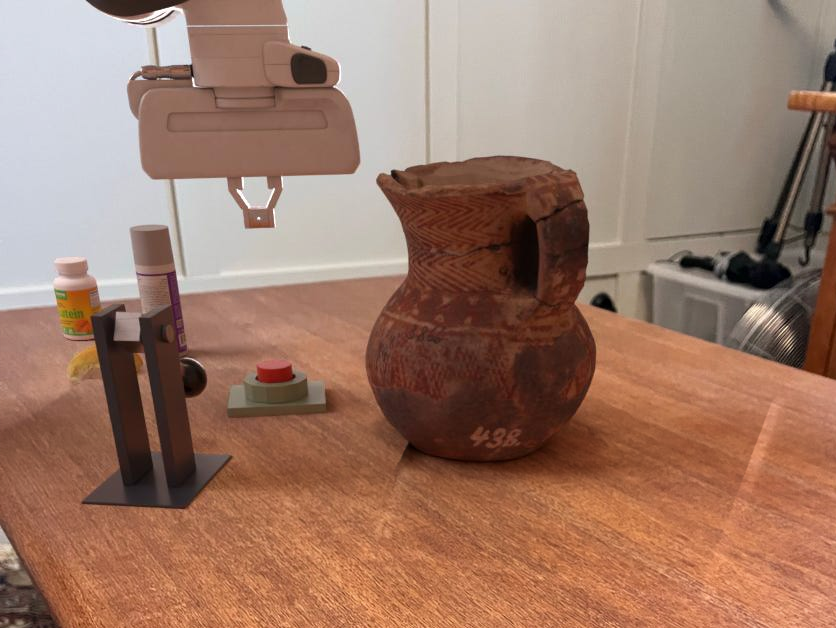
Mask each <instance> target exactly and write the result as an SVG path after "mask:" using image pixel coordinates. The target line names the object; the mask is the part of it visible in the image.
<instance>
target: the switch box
mask: <svg viewBox="0 0 836 628" xmlns="http://www.w3.org/2000/svg"><path fill="white" fill-rule="evenodd" d="M292 373H293V379H292V380H291V381H287V382H282V383H262V382H259V381H258V374H257V370H256V371H255V370H254V371H252V372H250V373H248V374H246V375H244V376H243V384H230V389H229V393H228V394H229V395H228V400H227V405H226V406H227V407H226V412H227V418H240V417H243V418H244V417H262V416H279V415H280V416H281V415H282V416H283V415H297V414H298V415H300V414H301V415H303V414H318V413H319V414H320V413H321V414H322V413H327V412H328V410H327V399H326V389H325V387H326V386H325V381H324V380H309V381H308V374H307V372H304V371H302V370H300V369H294V368H292Z"/></svg>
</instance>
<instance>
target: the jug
mask: <svg viewBox="0 0 836 628" xmlns="http://www.w3.org/2000/svg"><path fill="white" fill-rule="evenodd" d="M577 175H578V173H577V172H576V171H575V170H573V169H571V168H569V169H564V168H562V167H560V166H558V165H556V164H553V163H552V162H551V161H550V160H544V159H540V158H534V157H527V156H519V155H501V154H500V155H499V154H497V155H491V156H481V157H471V158H468V159H465V160H462V161H460V160H459V161H452V162H450V161H447V160H445V161H438V162H431V163H427V164H418V165H413V166H409V167H406V168H405V169H404V170H400V169H391V170H390V174H387V173H385V172H380V173H379V174H378V175H377V177H376V179H375V182H376V185H377V186H378V188H379V189H380V190H381V192H382V194H383V195H384V196H385V198H386V200H387V201H388V202H389V204H390V205H391V207H392V208H393V210H394V213H395V214H396V216H397V217H398V220H399V222H400V224H401V228H402V232H403V234H404V239H405V242H406V243H405V244H406V249H407V264H408V265H407V267H408V268H407V276H406V277H405V279H404V280H403V281H402V282H401V284H400V285H399V287H397V289H396V290H395V291H394V292H393V293H392V295H391V296H390V297H389V299H388V300H387V302H386V303H385V305H384V306H383V307H382V310H381V311H380V313H379V314H378V316H377V317H376V320H375V322H374V324H373V326H372V329H371V331H370V334H369V337H368V341H367V345H366V350H365V355H364V356H365V357H364V358H365V359H364V362H365V365H364V366H365V371H366V377H367V381H368V384H369V387H370V389H371V391H372V394H373V397H374V398H375V401H376V403H377V405H378V407H379V409H380V411H381V412H382V414H383V416H384V418H385V419H386V420H387V422H389V424H390V425H391V426H392V428H394V429H395V430H396V431H397V432H398V433H399V434H400V435H401V436H402V437H403V438H404V439H405V440H407V442H408V443H409V444H410V445H411V446H412V447H413V448H414V449H415V450H418V451H419V452H420V453H424V454H426V455H431V456H435V457H440V458H443V459H450V460H456V461H466V462H478V463H479V462H482V463H484V462H485V463H489V462H490V463H491V462H500V461H509V460H514V459H518V458H521V457H525V456H527V455H530V454H531V453H533V452H536V451H537V450H539V448H541V447H543V446H544V445H545V444H546V443H548V442H549V441H550V440H551V439H553V438H554V437H555V436H556V435H557V434H558V433H559V432H560V431H561V430H562V429H563V428H564V427H566V425H568V423H569V422H570V421H571V420H572V418H574V416H575V415H576V413H577V411H578V410H580V409H579V408H580V407H581V406H582V404H583V401H584V400H585V398H586V396H587V394H588V392H589V389H590V387H591V386H592V385H591V384H592V382H593V379H594V376H595V372H596V365H597V344H596V341H595V337H594V335H593V334H592V333H593V332H592V331H591V328H590V326H589V323H588V322H587V320H586V318H585V317H584V315H583V314H582V312H581V310H580V309H579V307H578V306H577V305H576V304H575V303H576V301H577V300H578V298H579V296H580V294H581V292H582V290H583V289H584V287H585V284H586V280H587V268H588V265H589V248H590V247H589V244H590V231H591V230H590V228H591V225H590V220H589V210H588V208H587V205H586V202H585V200H584V199H585V194H584V190H583V188H582V185H581V182H580V179H579V177H578V176H577Z"/></svg>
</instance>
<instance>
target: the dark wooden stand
mask: <svg viewBox="0 0 836 628" xmlns="http://www.w3.org/2000/svg"><path fill="white" fill-rule="evenodd" d="M126 310H127V309H126V304H125V303H112V304H110V305H108V306H106V307H104V308H103V309H102V310H101V311H99V312H97V313H95V314H93V315H92V316H90V318H91V324H92V329H93V334H94V339H93V340H94V343H95V344H94V345H96V349H97V354H98V359H99V364H100V369H101V375H102V379H101V380H102V385H103V389H104V395H105V400H106V404H107V405H106V406H107V410H108V415H109V420H110V426H111V430H112V435H113V440H114V446H115V451H116V457H117V461H118V466H119V467H118V469H117V470H115V472H112V474H111V475H110V476H109V477H107V478H106V479H105V480H104V481H102V483H101V484H99V486H97V487H96V488H95V489H94V490H93V491H91V492H90V493H89V494H88V495H87V496H86V497H85V498H84V499H82V501H81V505H91V506H92V505H93V506H97V505H98V506H111V507H112V506H113V507H129V508H130V507H134V508H152V509H170V510H171V509H172V510H174V509H175V510H186V509H187V508H188V506H190V504H191V503H192V502H193V501H194V500H195V499H196V498H197V497H198V496H199V494H200V493H201V492H202V491H203V490H204V489H205V488H206V487H207V486H208V485H209V484H210V483H211V481H213V479H214V478H215V477H216V476H217V475H218V474H219V472H220V471H221V470H223V469H224V467H225V466H226V465H227V464H228V463H229V462H230V460H231V459H232V458H233V455H232V454H223V453H222V454H221V453H202V452H201V453H199V452H195V450H194V445H193V443H194V442H193V438H192V431H191V425H190V418H189V412H188V405H187V398H185V392H184V385H183V379H182V372H181V366H180V359H181V358H180V357H179V353H178V346H177V340H176V333H175V327H174V321H173V314H172V308H171V305H159V306H157V307H155V308H154V309H152V310H150V311H149V312H147V313H145V314H144V315H142V316H140V317H139V324H140V330H141V336H142V341H143V347H144V353H143V354H144V358H145V359H144V360H145V364H146V370H147V376H148V381H149V387H150V394H151V399H152V404H153V405H152V406H153V411H154V417H155V421H156V428H157V434H158V439H159V446H160V451H156V450H155V451H153V450H151V445H150V439H149V433H148V428H147V427H148V426H147V423H146V418H145V417H146V416H145V412H144V411H145V410H144V405H143V400H142V395H141V394H142V393H141V389H140V382H139V377H138V372H137V371H136V365H135V360H134V354H133V353H128V352H127V351H126V350H125V349H124V348H122V347H121V346H120V345H119V344H117V343H116V342H115V341H114V330H115V319H116V312H127V311H126Z"/></svg>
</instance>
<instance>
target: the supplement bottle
mask: <svg viewBox="0 0 836 628" xmlns="http://www.w3.org/2000/svg"><path fill="white" fill-rule="evenodd" d="M53 263H54V269H55V272H56V273H57V274H58V276H57V277H55V278H54V280H53V282H52V283H53V284H52V285H53V290H54V291H53V292H54V295H55V300H56V301H55V302H56V305H57V310H58V315H59V319H60V325H61V329H62V334H63V337H64V338H65V339H68V340H71V341H89V340H95V339H94V334H93V329H92V324H91V318H90V316H92V315H93V314H95V313H97V312H99V311H101V310H103V309H102V304H101V298H100V292H99V288H98V282H97V279H96V278H95V277H94V276H92V274H88V271H89V264H88V260H87V258H85V257H83V256H67V257H60V258H55V259H54V261H53Z"/></svg>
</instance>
